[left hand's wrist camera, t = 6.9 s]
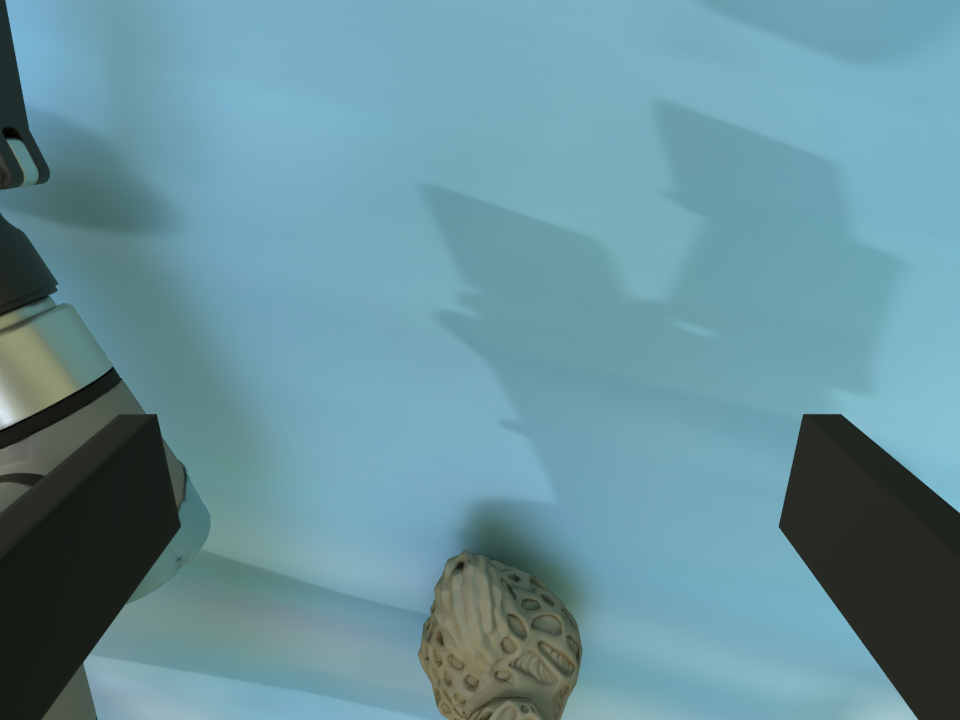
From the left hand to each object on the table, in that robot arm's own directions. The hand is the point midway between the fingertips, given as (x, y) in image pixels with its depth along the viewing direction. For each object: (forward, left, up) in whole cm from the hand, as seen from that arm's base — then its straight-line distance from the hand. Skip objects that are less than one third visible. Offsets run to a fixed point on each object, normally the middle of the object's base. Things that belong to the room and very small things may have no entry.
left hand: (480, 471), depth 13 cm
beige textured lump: (+30, +2, -28) cm, 41 cm away
